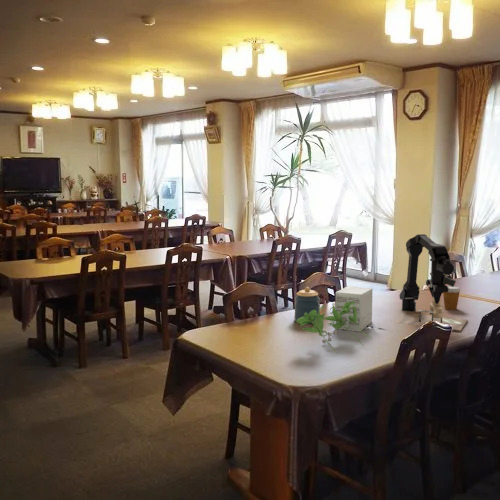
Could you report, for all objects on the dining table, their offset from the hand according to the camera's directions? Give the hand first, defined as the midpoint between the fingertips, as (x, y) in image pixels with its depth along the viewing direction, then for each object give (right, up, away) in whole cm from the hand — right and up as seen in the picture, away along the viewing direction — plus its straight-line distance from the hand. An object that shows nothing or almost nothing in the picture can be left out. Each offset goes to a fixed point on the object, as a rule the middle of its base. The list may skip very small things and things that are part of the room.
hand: (436, 302), depth 263 cm
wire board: (0, -10, +5) cm, 12 cm away
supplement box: (-40, -12, +1) cm, 42 cm away
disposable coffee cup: (+20, -7, +35) cm, 41 cm away
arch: (0, -7, +1) cm, 7 cm away
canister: (-62, -11, +11) cm, 64 cm away
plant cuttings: (-54, -16, -32) cm, 65 cm away
